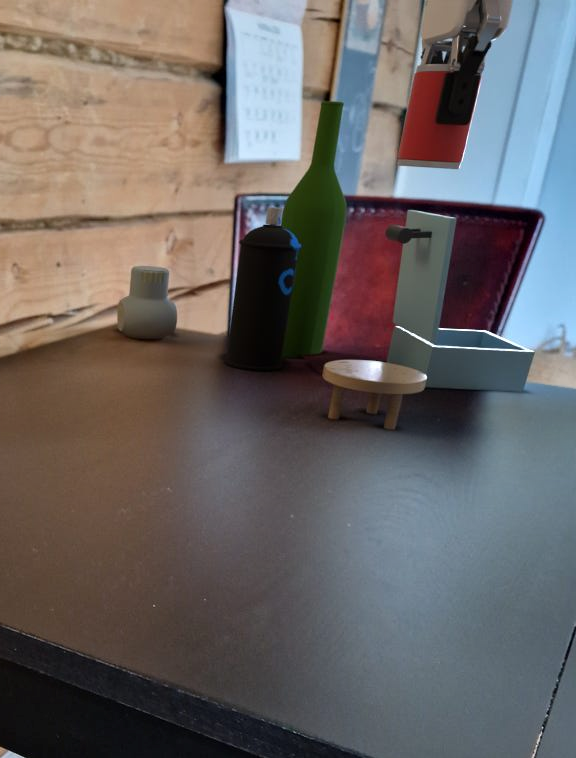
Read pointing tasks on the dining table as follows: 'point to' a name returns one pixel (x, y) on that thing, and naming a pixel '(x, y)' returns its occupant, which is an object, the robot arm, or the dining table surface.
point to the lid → (422, 271)
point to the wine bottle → (315, 238)
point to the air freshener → (147, 305)
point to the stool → (372, 384)
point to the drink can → (431, 124)
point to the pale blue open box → (463, 359)
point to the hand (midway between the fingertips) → (438, 123)
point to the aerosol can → (262, 296)
